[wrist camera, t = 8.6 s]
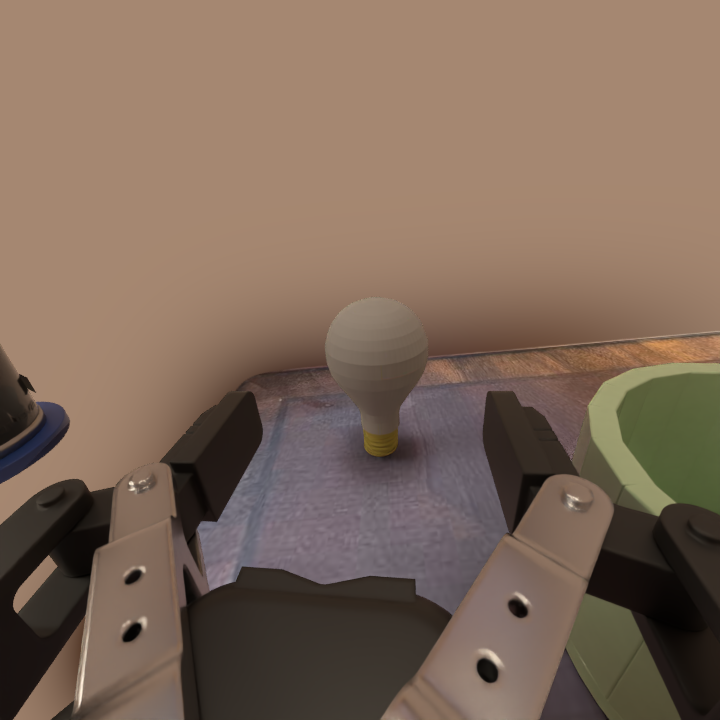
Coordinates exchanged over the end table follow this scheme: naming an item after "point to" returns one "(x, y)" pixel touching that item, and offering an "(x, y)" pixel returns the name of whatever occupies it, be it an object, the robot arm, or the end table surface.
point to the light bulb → (377, 364)
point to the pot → (643, 510)
